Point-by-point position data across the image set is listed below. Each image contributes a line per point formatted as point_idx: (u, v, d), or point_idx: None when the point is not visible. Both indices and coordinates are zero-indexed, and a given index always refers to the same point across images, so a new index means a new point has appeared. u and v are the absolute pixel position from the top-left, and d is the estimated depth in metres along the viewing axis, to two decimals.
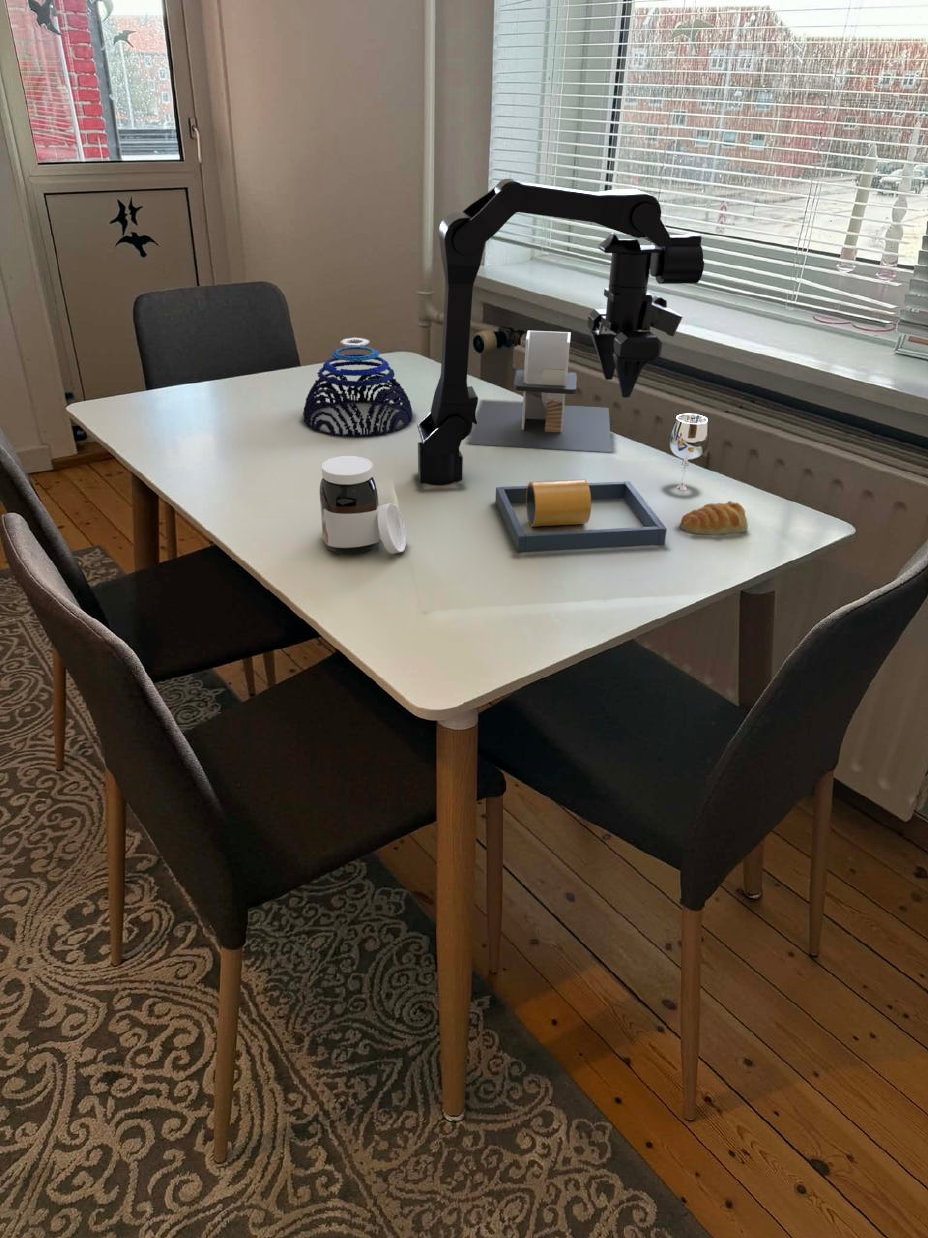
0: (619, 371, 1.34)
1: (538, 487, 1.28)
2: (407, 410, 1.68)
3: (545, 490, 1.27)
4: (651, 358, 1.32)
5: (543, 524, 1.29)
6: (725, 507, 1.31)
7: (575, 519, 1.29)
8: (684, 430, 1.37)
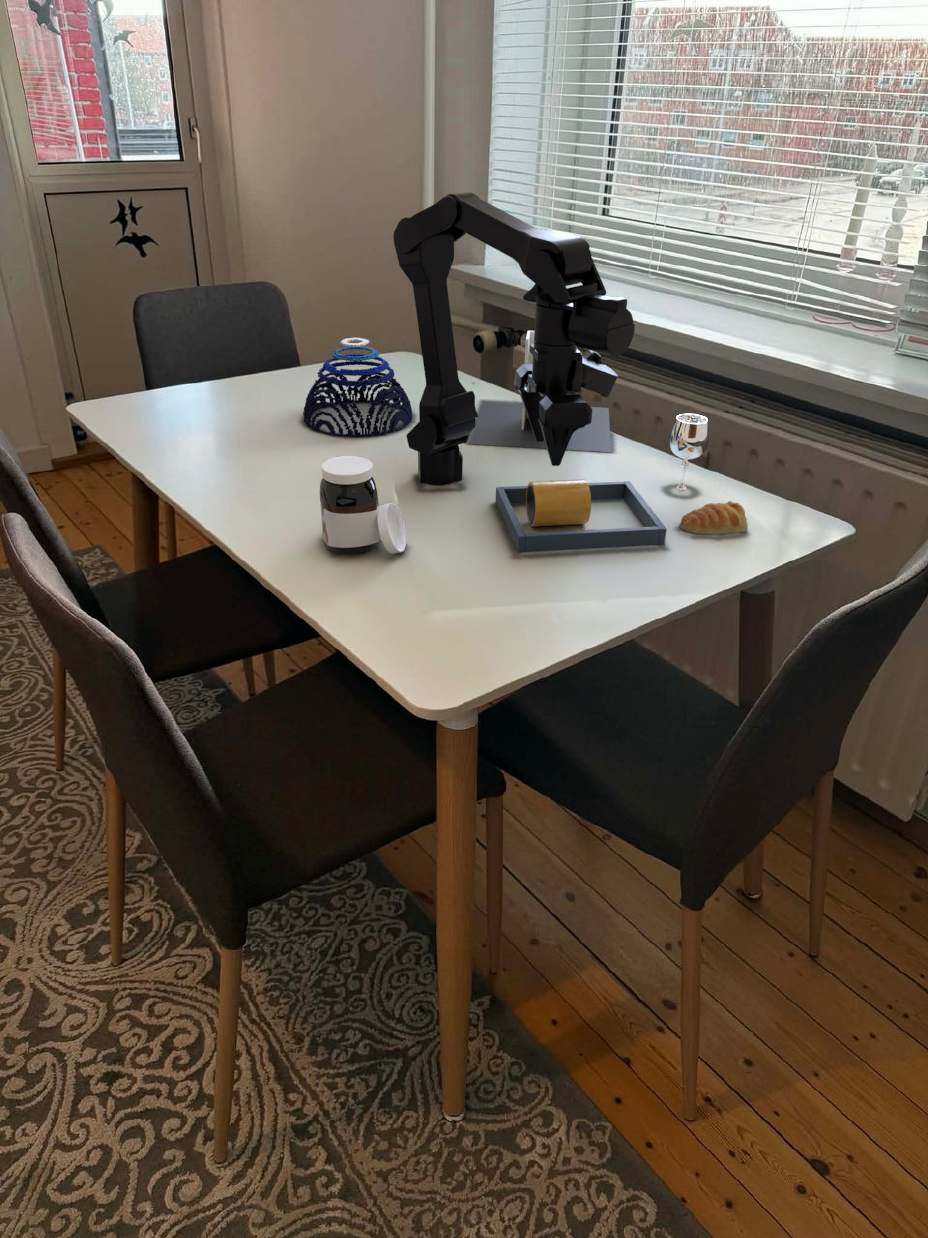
0: (546, 438, 1.19)
1: (538, 487, 1.28)
2: (407, 410, 1.68)
3: (545, 490, 1.27)
4: (581, 425, 1.17)
5: (543, 524, 1.29)
6: (725, 507, 1.31)
7: (575, 519, 1.29)
8: (684, 430, 1.37)
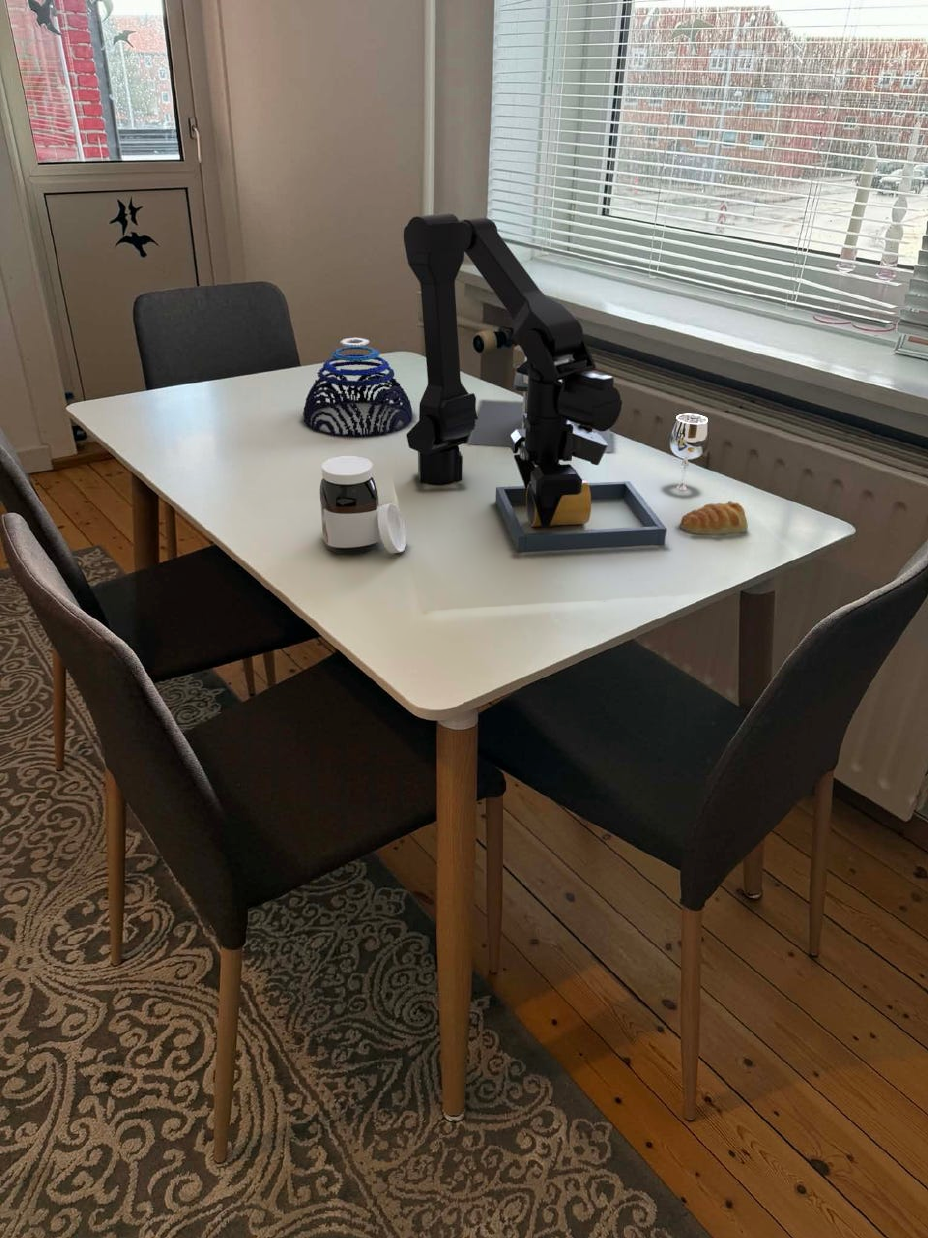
0: (536, 502, 1.25)
1: None
2: (407, 410, 1.68)
3: None
4: None
5: None
6: (725, 507, 1.31)
7: (575, 519, 1.29)
8: (684, 430, 1.37)
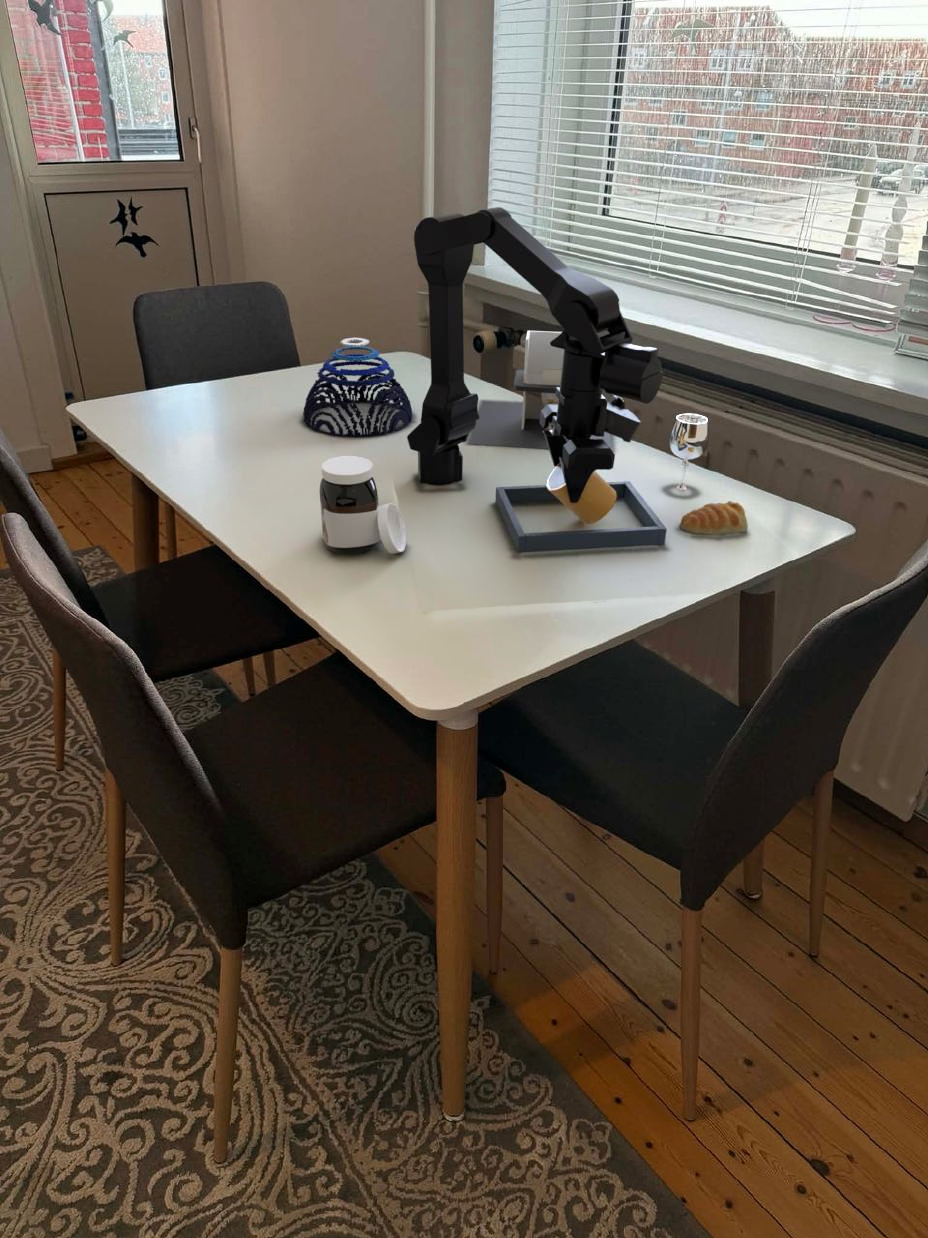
0: (566, 477, 1.23)
1: None
2: (407, 410, 1.68)
3: None
4: None
5: (562, 496, 1.28)
6: (725, 507, 1.31)
7: (587, 513, 1.29)
8: (684, 430, 1.37)
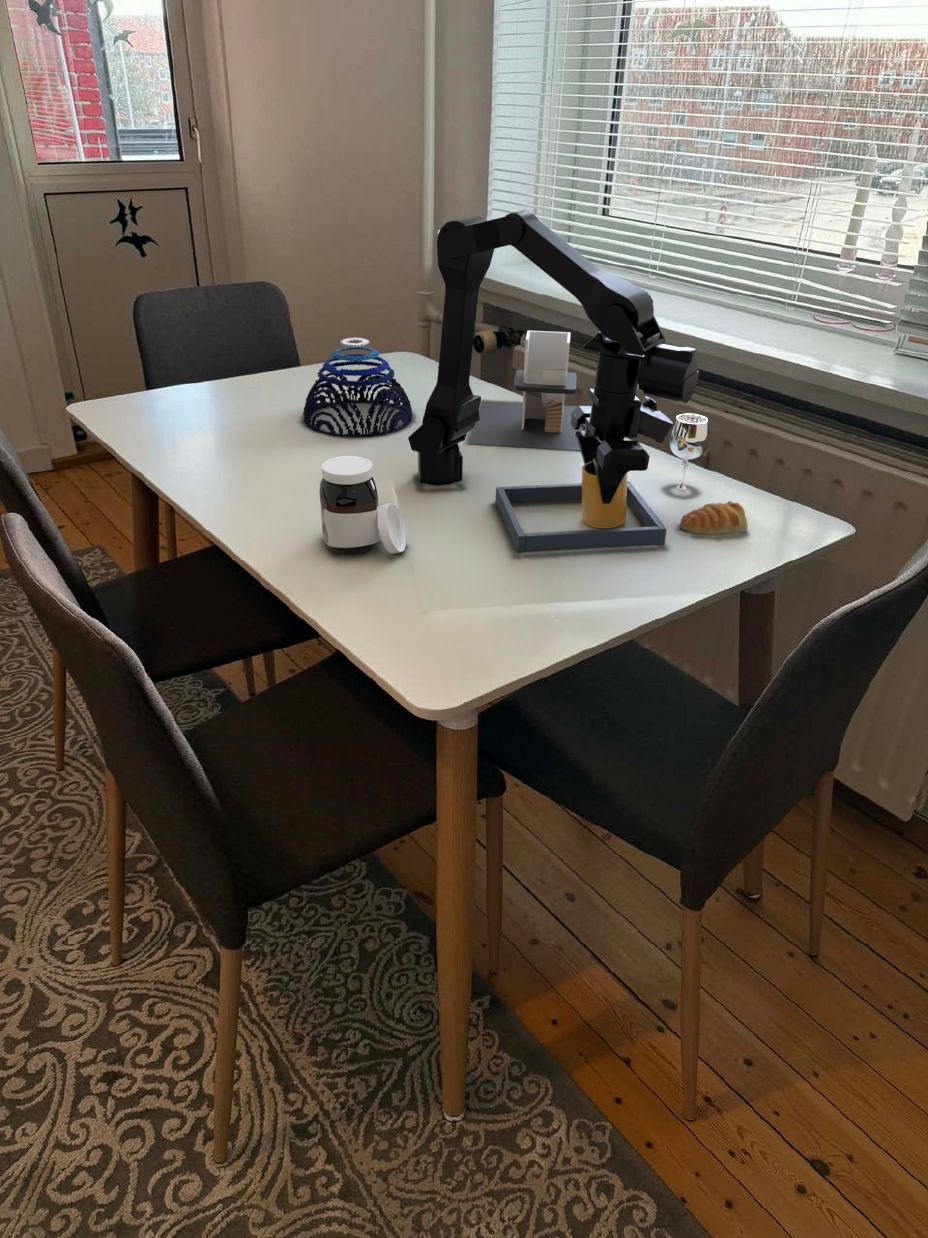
0: (599, 478, 1.24)
1: None
2: (407, 410, 1.68)
3: (626, 480, 1.28)
4: None
5: (593, 486, 1.27)
6: (725, 507, 1.31)
7: (599, 515, 1.29)
8: (684, 430, 1.37)
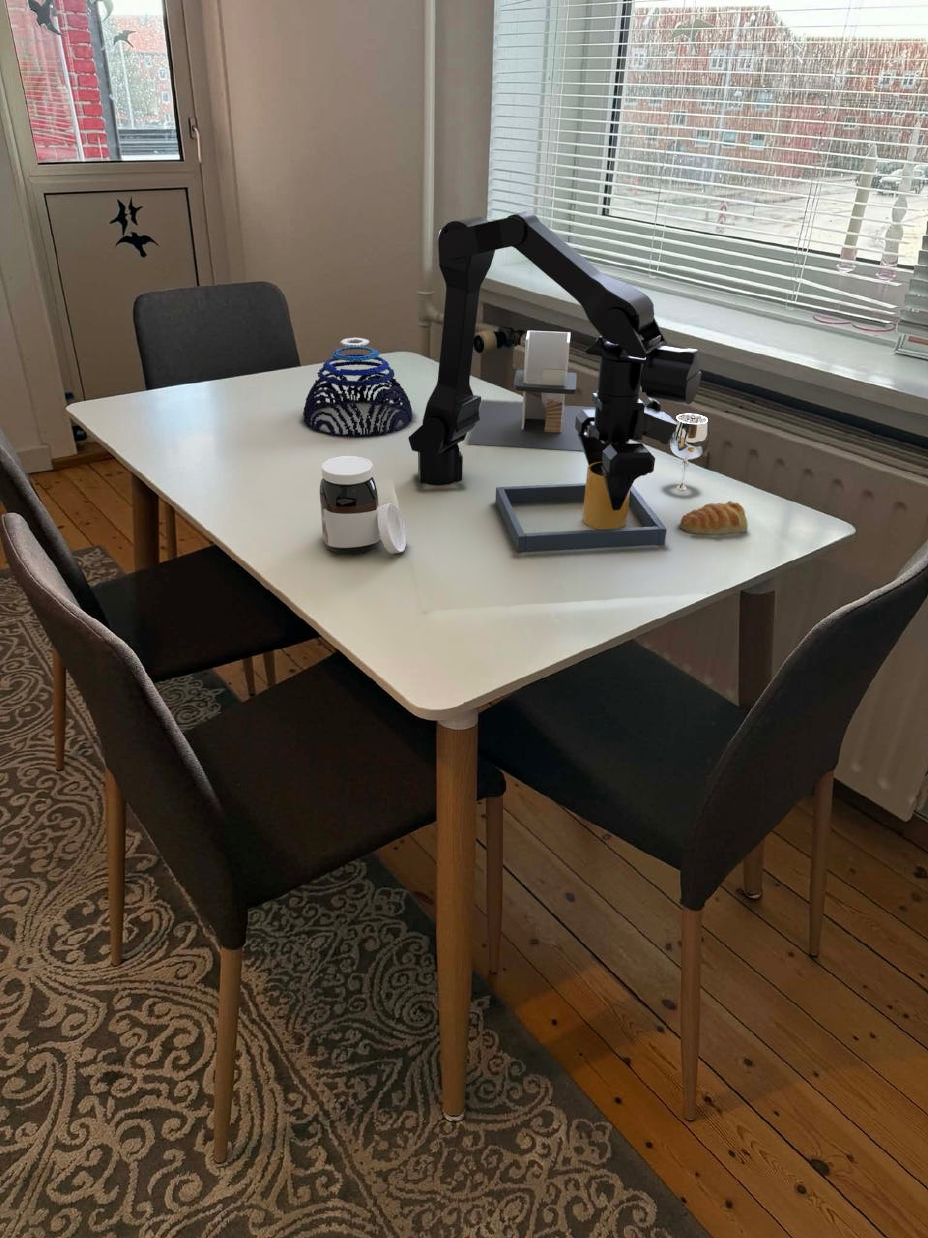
0: (608, 485, 1.23)
1: None
2: (407, 410, 1.68)
3: None
4: (643, 473, 1.21)
5: (598, 486, 1.28)
6: (725, 507, 1.31)
7: (601, 516, 1.30)
8: (684, 430, 1.37)
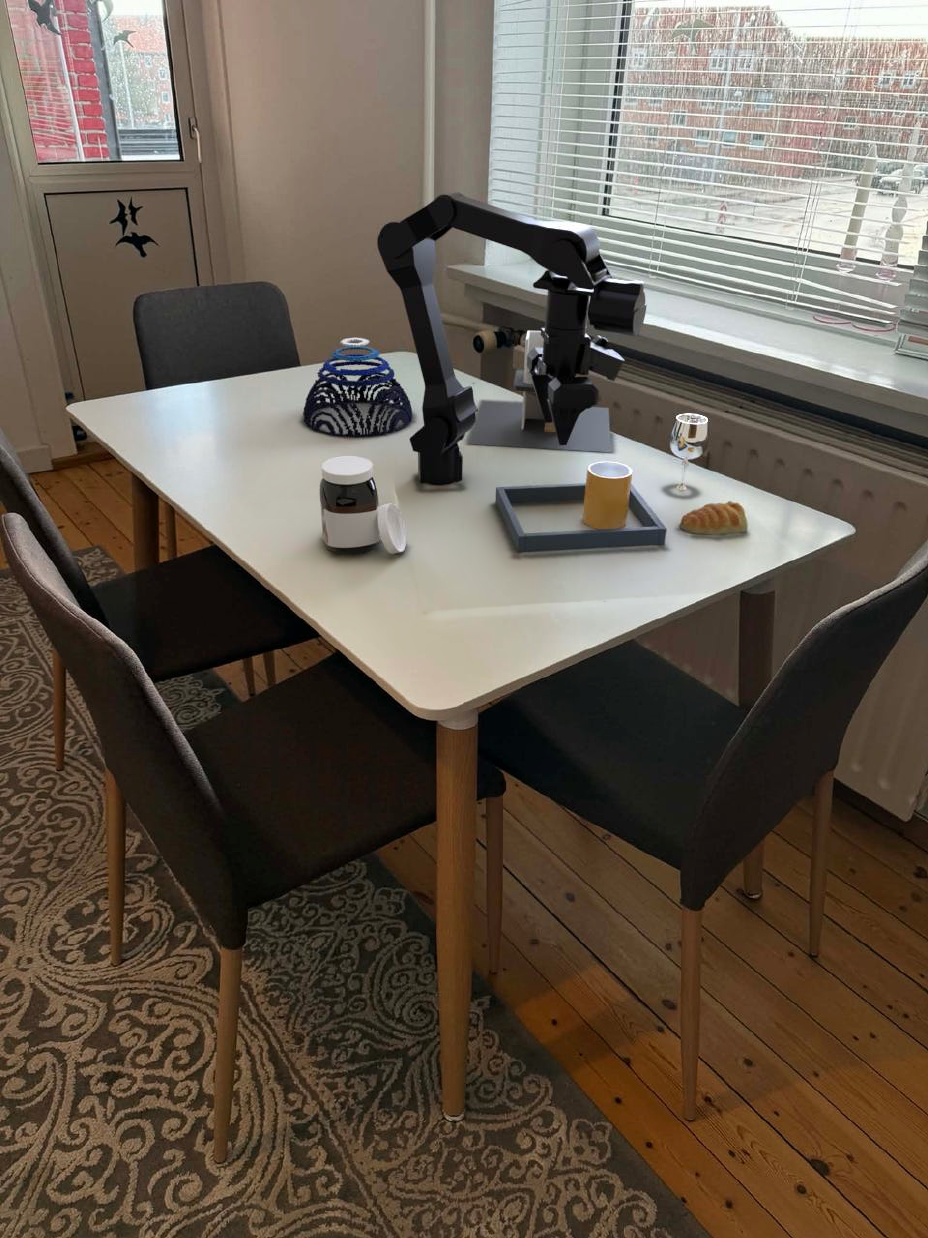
0: (554, 418, 1.25)
1: (631, 476, 1.29)
2: (407, 410, 1.68)
3: (630, 483, 1.29)
4: (587, 406, 1.23)
5: (598, 486, 1.28)
6: (725, 507, 1.31)
7: (601, 516, 1.30)
8: (684, 430, 1.37)
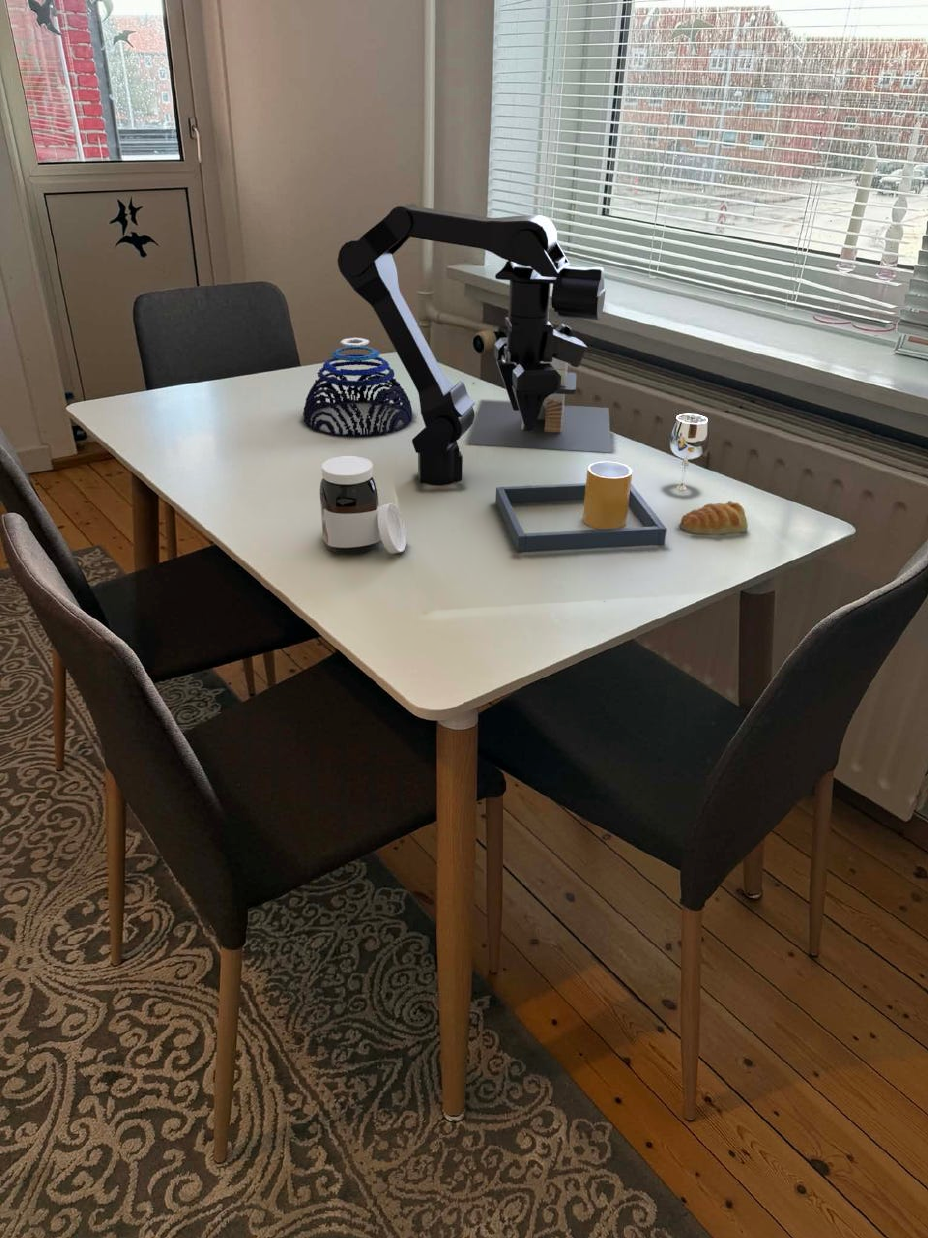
0: (519, 404, 1.29)
1: (631, 476, 1.29)
2: (407, 410, 1.68)
3: (630, 483, 1.29)
4: (551, 391, 1.26)
5: (598, 486, 1.28)
6: (725, 507, 1.31)
7: (601, 516, 1.30)
8: (684, 430, 1.37)
